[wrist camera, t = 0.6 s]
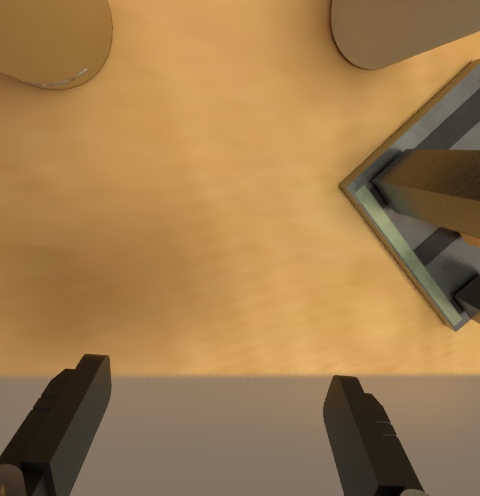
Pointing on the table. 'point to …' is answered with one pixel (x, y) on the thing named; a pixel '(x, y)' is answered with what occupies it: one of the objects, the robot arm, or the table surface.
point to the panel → (415, 229)
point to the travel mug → (399, 28)
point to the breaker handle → (471, 240)
